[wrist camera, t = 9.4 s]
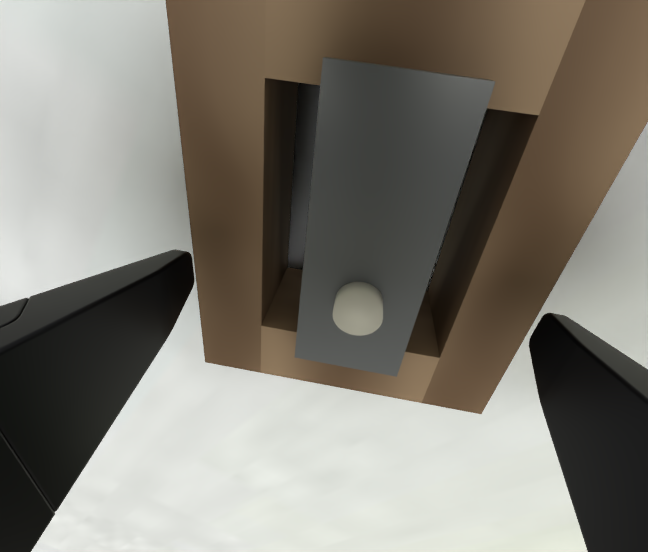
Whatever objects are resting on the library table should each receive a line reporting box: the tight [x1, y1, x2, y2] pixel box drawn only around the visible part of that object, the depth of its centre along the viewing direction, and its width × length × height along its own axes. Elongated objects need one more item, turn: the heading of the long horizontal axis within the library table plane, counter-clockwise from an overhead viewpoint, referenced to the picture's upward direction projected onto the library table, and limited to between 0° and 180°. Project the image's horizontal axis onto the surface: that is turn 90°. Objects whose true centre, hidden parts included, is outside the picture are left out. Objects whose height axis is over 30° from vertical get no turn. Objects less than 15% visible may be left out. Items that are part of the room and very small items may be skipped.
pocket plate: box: [166, 0, 648, 414], centre depth 13 cm, size 12×14×4 cm
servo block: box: [295, 57, 496, 377], centre depth 13 cm, size 4×10×6 cm, turn 174°
